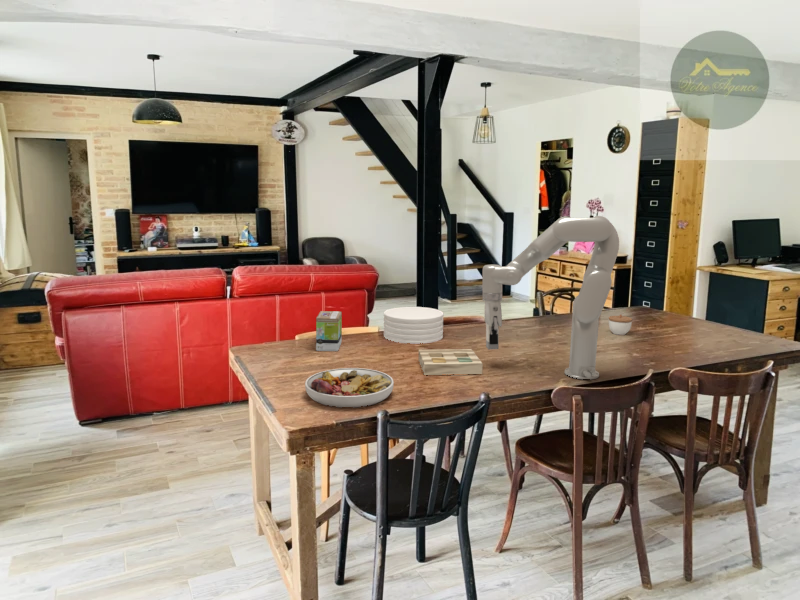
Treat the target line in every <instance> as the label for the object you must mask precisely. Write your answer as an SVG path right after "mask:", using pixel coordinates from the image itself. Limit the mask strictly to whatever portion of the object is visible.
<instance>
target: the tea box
mask: <svg viewBox="0 0 800 600" xmlns="http://www.w3.org/2000/svg"><path fill="white" fill-rule="evenodd" d="M342 313H343V312H342V311H337V310H336V311H327V310H326V311H325V310H320V312H318V314H317V316H316V318H315V320H316V321H315V323H316V324H315V327H316V329H315V335H316V336H315V350H316V351H318V352H319V351H320V352H338V351H339V350H340V348H341V344H342V342H343V341H342V337H343V335H342V333H343V332H342V331H343V329H342V328H343V327H342V326H343V325H342V324H343V323H342V322H343V321H342V319H343V318H342V316H343V314H342Z"/></svg>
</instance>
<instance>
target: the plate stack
mask: <svg viewBox="0 0 800 600" xmlns="http://www.w3.org/2000/svg"><path fill="white" fill-rule="evenodd" d="M443 332H444V312H443V311H442V310H439V309H437V308H432V307H426V306H425V307H424V306H423V307H422V306H400V307H392V308H388V309H386V310H384V311H383V338H384V337H385V338H384V339H385V340H387V339H388V341H390V340H391V341H390V342H393V341H394V342H393V343H398V342H399V343H400V344H407V343H410V344H412V345H415V344H417V345H420V343H421V345H422V343H423V344H431V343H436V342H438V341H441V340H442V339H443V337H444V334H443Z"/></svg>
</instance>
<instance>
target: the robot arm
mask: <svg viewBox="0 0 800 600" xmlns="http://www.w3.org/2000/svg"><path fill="white" fill-rule="evenodd" d="M568 242H572V243H573V242H574V243H581V242H582V243H587V242H588V243H594V247H593V250H592V253H591V257H590V260H589V261H588V265H587V268H586V270H585V272H584V274H583V279H582V280H583V281H582V284H581V287H580V289H579V292H578V295H577V296H575V298H574V299H573V302H572V317H571V318H572V319H571V332H570V333H571V334H570V348H569V349H570V350H569V364H568V365H569V366H568V367H566V368H565V369H564V375H565V376H567V375H568V376H567V377H569V376H570V378H572V377H573V378H572V379H576V378H577V379H576V380H583V379H590V380H595V379H598V378H599V377H600V372H599V371H598V370H596V365H597V364H596V363H597V349H598V336H599V320H600V316H601V314H602V312H603V309H604V308H605V307H604V306H605V304H606V301H607V299H608V296H609V294H610V290H611V287H612V281H613V280H612V272H613V269H614V266H615V263H616V261H617V260H616V259H617V258H618V253H619V250H620V239H619V234H618V231H617V229H616V227H615V226H614V225H613V223H612V222H610V220H609V219H608V218H606V217H605V216H603V215H596V216H593V217H571V216H568V215H567V216H565V215H564V216H562V217H559V218H558V219H557V220H556V221H554V222H553V223H552V224H550V226H549V227H548V228H546V229H545V230H544V231H543V232H542V233H541V234H540V235H538V236H537V237H536V238H535V239H534V240H532V242H531V243H530V244H529V245H528V246H527V247H526V248H525V249H523V250H522V252H520V253H519V254H518V255H517V256H516V257H515V258H514V259H513V260H511V261H510V262H509V263H508V264H506V265H505V266H501V265H500V264H485V265H484V266H483V267H482V301H483V302H484V322H485V324H486V323H487V324H488V326H490V344H498V325H499V327H500V328H501V327H502V325H503V317H502V316H503V315H502V302H503V285H506V286H516V285H518V284H519V283H520V282H521V281H522V278H523V277H524V276H526V274H528V273H529V272H530V271H531V270H532V269H533V268H535V267H536V266H538V265H539V264H541V263H542V262H544V261H546V260H548V259H549V258H551V256H553V255H554V254H555V253H556V252H557V251H558V250H560V249H561V248H562V247H564V245H565V244H566V243H568ZM492 325H494V326H492ZM492 328H494V329H492Z"/></svg>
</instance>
